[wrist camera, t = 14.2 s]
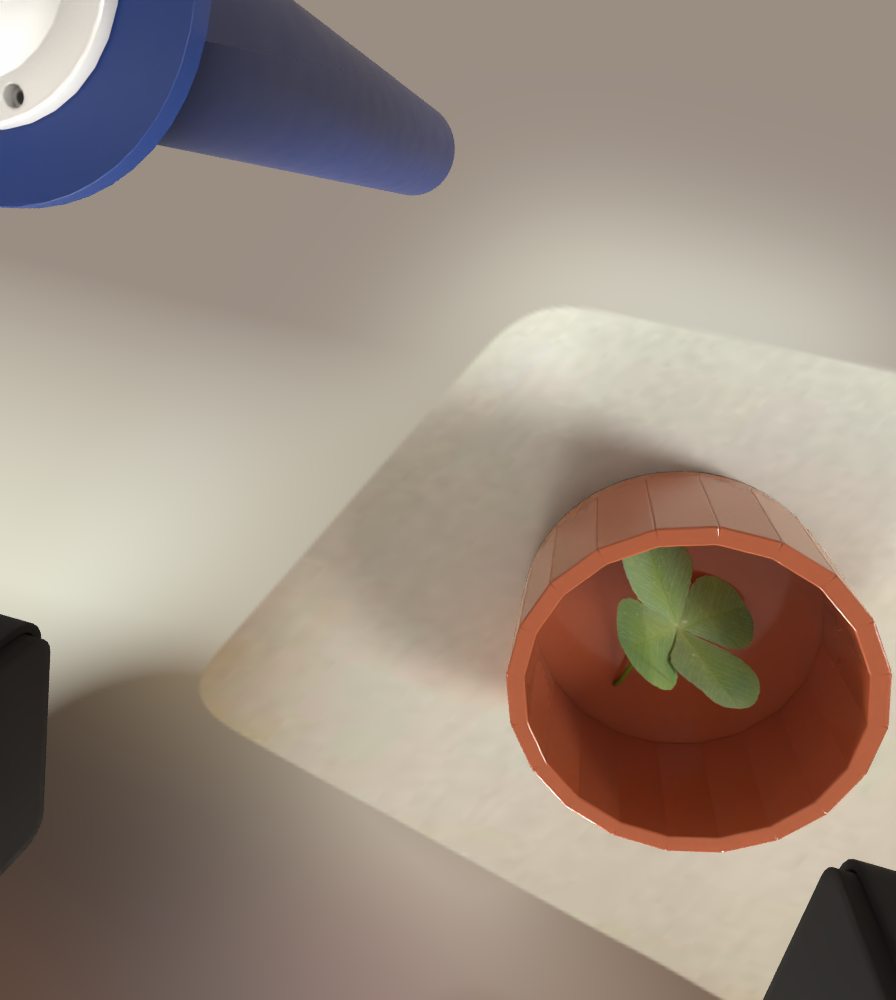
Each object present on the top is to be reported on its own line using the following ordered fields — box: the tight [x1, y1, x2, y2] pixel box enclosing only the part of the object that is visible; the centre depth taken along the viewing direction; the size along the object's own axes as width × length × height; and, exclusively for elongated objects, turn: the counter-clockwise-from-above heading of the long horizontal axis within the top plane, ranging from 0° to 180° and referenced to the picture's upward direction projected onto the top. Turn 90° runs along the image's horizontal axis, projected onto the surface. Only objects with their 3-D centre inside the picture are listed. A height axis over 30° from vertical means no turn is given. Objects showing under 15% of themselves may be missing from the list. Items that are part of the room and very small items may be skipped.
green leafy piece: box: [613, 546, 760, 709], centre depth 34 cm, size 7×8×7 cm
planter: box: [506, 472, 892, 852], centre depth 33 cm, size 13×13×7 cm
